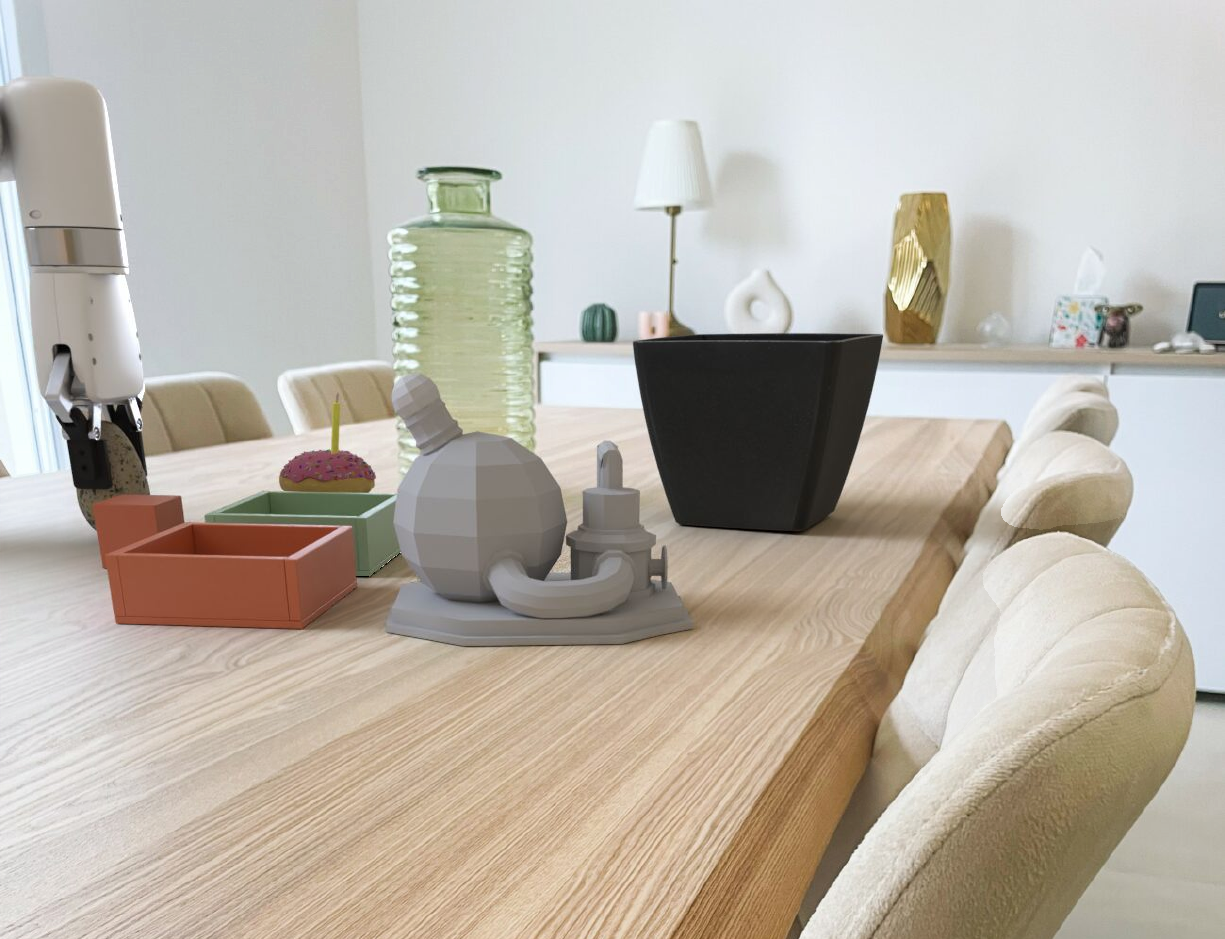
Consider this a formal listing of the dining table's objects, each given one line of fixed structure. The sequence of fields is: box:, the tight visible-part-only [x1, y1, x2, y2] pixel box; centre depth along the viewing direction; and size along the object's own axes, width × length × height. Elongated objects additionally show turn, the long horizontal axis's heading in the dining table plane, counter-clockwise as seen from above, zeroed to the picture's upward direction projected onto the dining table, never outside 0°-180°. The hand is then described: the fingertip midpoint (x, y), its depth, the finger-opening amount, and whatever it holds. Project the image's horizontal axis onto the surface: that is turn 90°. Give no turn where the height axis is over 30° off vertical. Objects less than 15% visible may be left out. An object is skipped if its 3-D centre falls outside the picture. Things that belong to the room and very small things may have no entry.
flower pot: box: [632, 332, 884, 532], centre depth 116 cm, size 19×19×17 cm
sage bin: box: [203, 490, 401, 577], centre depth 99 cm, size 13×13×4 cm
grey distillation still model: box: [385, 372, 694, 647], centre depth 80 cm, size 20×15×15 cm
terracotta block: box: [93, 494, 186, 569], centre depth 97 cm, size 5×5×5 cm
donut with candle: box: [278, 392, 377, 493], centre depth 111 cm, size 9×8×12 cm
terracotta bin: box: [105, 521, 358, 630], centre depth 85 cm, size 13×13×4 cm
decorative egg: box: [75, 419, 151, 532], centre depth 106 cm, size 6×6×10 cm
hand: (111, 481), depth 106 cm, fingers closed on decorative egg, 5 cm apart
